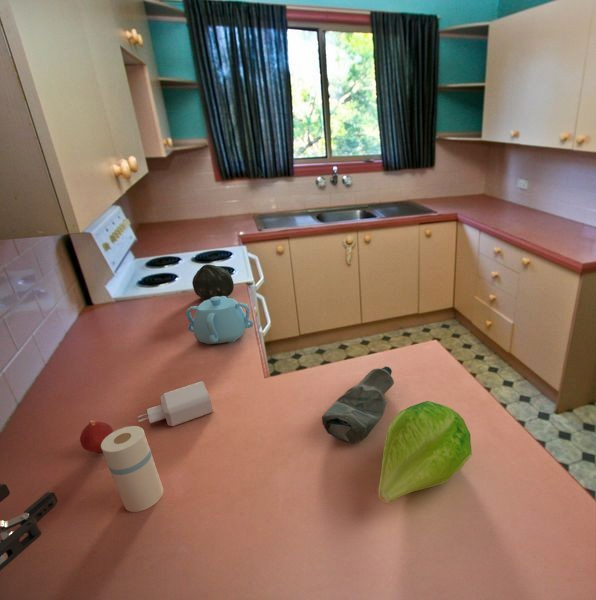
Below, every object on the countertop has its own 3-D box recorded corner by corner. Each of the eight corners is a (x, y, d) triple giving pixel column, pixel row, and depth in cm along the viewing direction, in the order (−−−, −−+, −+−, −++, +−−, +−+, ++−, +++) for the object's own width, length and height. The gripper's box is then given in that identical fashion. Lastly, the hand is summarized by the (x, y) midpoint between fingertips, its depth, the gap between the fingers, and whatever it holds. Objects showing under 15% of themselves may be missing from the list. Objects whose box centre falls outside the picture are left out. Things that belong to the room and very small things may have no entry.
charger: (138, 417, 100) (206, 394, 108) (142, 439, 93) (214, 413, 101) (133, 400, 98) (202, 379, 106) (136, 422, 91) (210, 397, 99)
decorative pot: (208, 355, 126) (198, 314, 121) (187, 337, 136) (177, 298, 131) (258, 336, 137) (252, 297, 131) (235, 320, 147) (228, 284, 141)
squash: (230, 273, 176) (200, 253, 165) (246, 283, 166) (216, 262, 155) (209, 301, 174) (177, 282, 163) (224, 313, 164) (191, 294, 153)
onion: (84, 450, 90) (71, 420, 87) (114, 437, 94) (103, 407, 91) (89, 465, 87) (76, 434, 83) (121, 450, 90) (110, 420, 87)
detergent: (364, 454, 87) (414, 386, 107) (359, 425, 84) (411, 362, 105) (313, 439, 93) (369, 378, 113) (306, 413, 90) (365, 355, 111)
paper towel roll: (115, 509, 77) (90, 449, 71) (142, 481, 82) (121, 423, 77) (146, 515, 75) (124, 453, 70) (171, 486, 81) (152, 427, 76)
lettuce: (430, 550, 70) (366, 510, 80) (494, 450, 84) (432, 426, 94) (406, 494, 63) (339, 457, 73) (480, 395, 77) (415, 375, 87)
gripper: (-143, 616, 50) (1, 503, 65) (-49, 641, 47) (79, 517, 62) (-179, 574, 47) (-20, 465, 62) (-81, 598, 44) (61, 478, 59)
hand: (29, 492), depth 62 cm, fingers open, 8 cm apart
